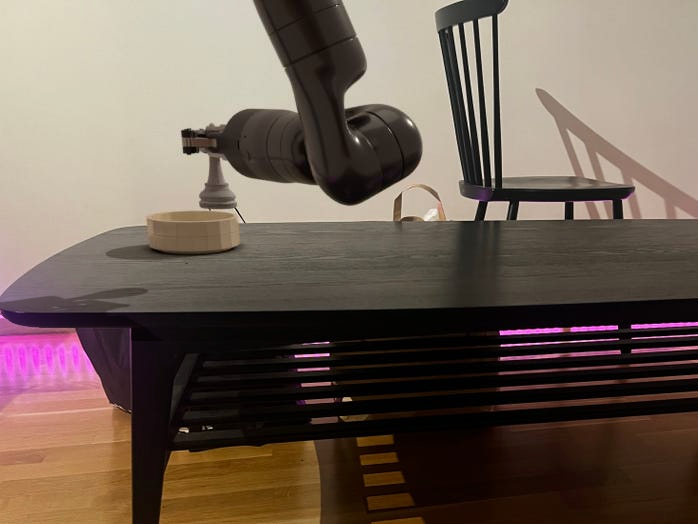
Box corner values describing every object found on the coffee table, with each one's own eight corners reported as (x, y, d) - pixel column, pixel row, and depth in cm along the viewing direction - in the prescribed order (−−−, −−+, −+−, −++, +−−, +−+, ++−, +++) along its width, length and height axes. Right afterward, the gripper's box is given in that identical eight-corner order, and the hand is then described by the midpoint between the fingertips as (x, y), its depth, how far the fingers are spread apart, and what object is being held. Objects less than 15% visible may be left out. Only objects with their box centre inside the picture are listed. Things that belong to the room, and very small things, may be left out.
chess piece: (241, 206, 89) (235, 123, 86) (231, 210, 85) (224, 123, 82) (206, 205, 89) (199, 122, 86) (194, 208, 85) (186, 122, 82)
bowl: (171, 259, 101) (168, 224, 100) (136, 246, 110) (132, 213, 108) (255, 249, 110) (253, 217, 109) (216, 238, 119) (213, 208, 117)
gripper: (328, 111, 79) (251, 109, 90) (209, 105, 69) (140, 104, 81) (330, 180, 81) (255, 169, 93) (215, 183, 72) (147, 171, 83)
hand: (202, 139), depth 87 cm, fingers closed on chess piece, 2 cm apart
